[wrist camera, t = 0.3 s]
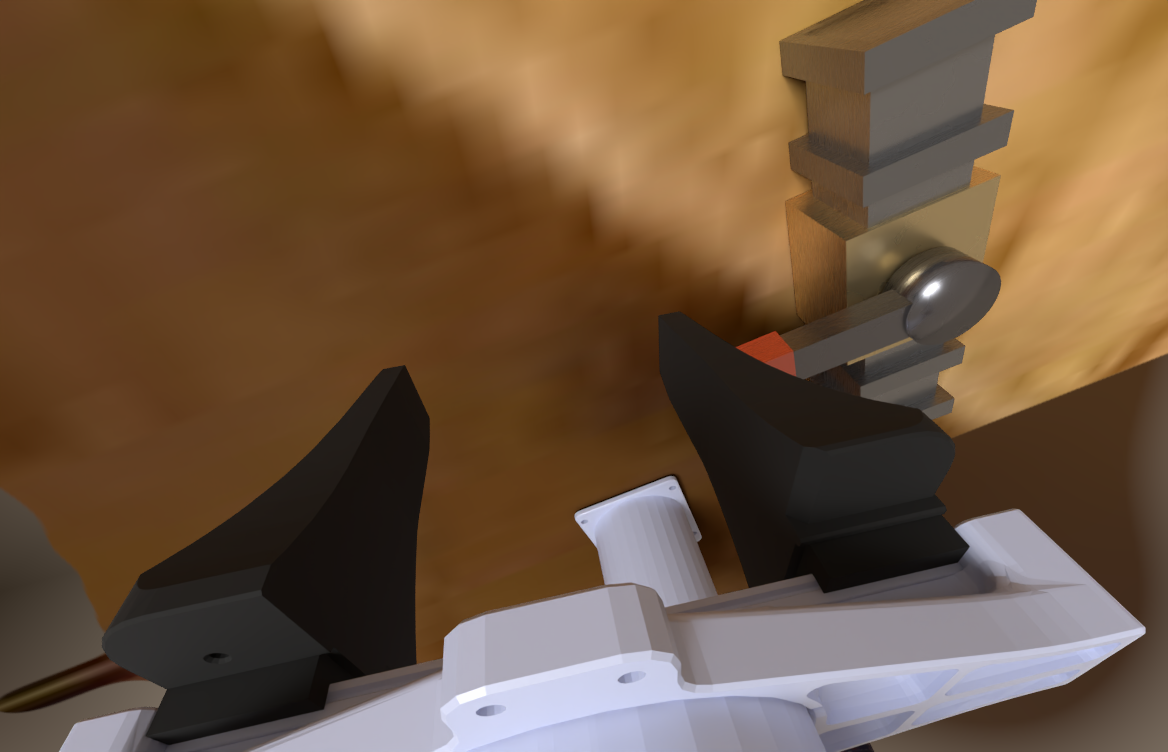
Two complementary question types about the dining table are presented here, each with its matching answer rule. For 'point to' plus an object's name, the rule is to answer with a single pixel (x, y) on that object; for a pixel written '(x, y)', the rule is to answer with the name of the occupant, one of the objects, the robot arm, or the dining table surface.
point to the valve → (893, 167)
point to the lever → (889, 315)
